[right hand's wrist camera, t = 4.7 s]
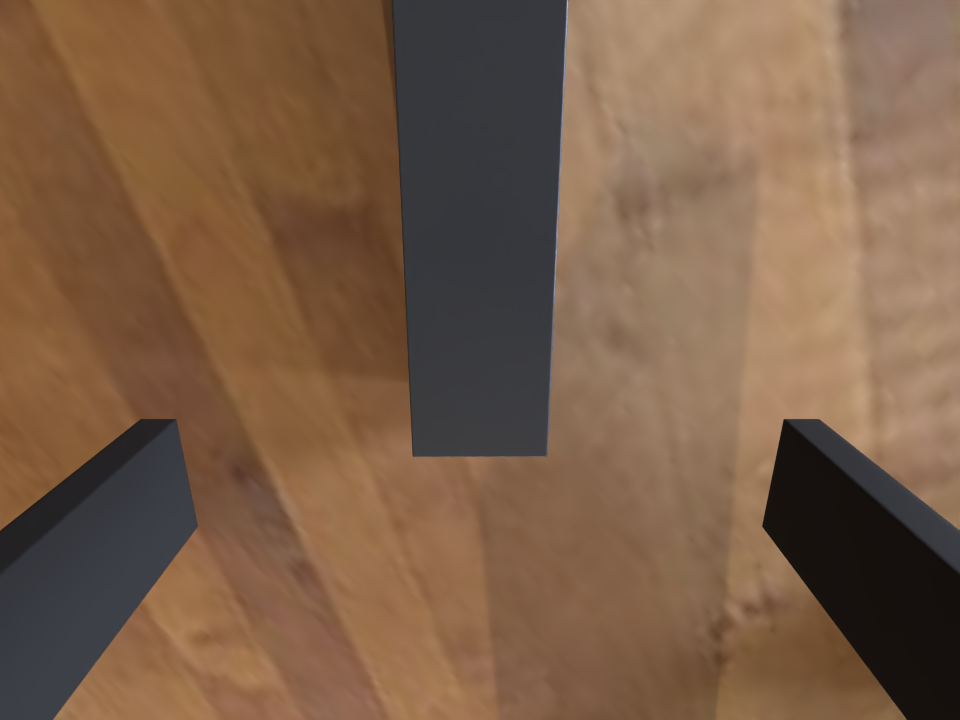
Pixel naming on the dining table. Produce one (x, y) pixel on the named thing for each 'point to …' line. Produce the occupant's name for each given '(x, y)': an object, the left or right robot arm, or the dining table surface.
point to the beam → (480, 218)
